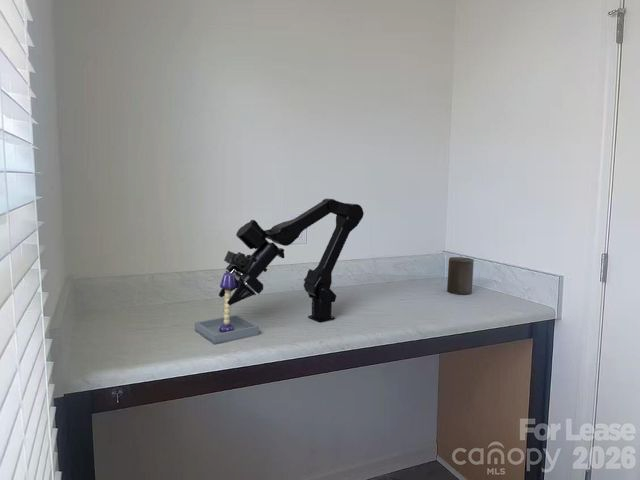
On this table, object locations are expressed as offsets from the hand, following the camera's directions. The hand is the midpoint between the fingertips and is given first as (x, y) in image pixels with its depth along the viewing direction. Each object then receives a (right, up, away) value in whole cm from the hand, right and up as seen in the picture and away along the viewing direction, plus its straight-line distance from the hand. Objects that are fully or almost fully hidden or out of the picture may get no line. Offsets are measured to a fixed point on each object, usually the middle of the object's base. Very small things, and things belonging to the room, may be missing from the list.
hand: (224, 300), depth 131 cm
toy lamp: (+1, -9, +2) cm, 9 cm away
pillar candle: (+84, -4, +55) cm, 100 cm away
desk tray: (0, -10, +2) cm, 10 cm away
